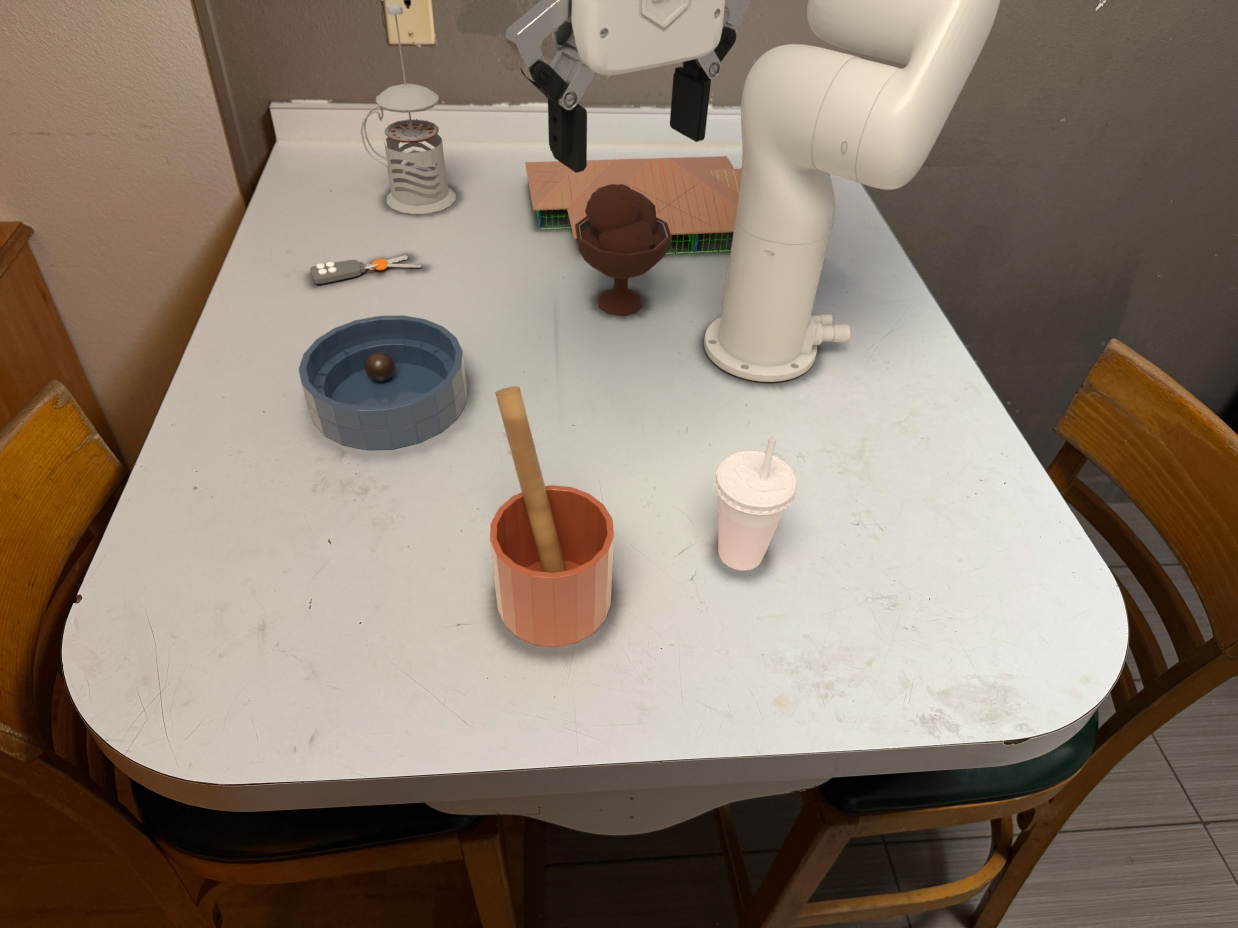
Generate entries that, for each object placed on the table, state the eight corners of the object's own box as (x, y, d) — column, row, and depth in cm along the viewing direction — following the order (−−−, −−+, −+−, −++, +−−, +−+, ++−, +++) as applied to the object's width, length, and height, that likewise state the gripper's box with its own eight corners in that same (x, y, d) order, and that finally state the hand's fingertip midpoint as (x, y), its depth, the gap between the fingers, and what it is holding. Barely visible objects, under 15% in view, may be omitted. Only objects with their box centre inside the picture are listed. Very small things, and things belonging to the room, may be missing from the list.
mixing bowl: (470, 356, 89) (466, 314, 86) (463, 452, 78) (457, 408, 74) (326, 359, 88) (315, 316, 84) (298, 457, 77) (283, 412, 73)
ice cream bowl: (658, 334, 94) (668, 212, 83) (564, 320, 95) (562, 199, 85) (672, 286, 101) (683, 169, 91) (585, 274, 103) (585, 157, 92)
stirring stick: (573, 600, 65) (518, 384, 60) (577, 609, 64) (520, 388, 58) (552, 606, 65) (494, 390, 60) (555, 616, 63) (495, 394, 58)
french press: (450, 215, 113) (427, 16, 95) (365, 212, 112) (327, 12, 95) (461, 184, 120) (441, -7, 102) (381, 181, 119) (348, -11, 102)
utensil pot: (605, 557, 69) (608, 482, 63) (614, 648, 63) (618, 575, 57) (499, 561, 69) (492, 486, 62) (496, 654, 62) (488, 581, 56)
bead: (378, 387, 83) (372, 387, 85) (403, 371, 84) (397, 372, 86) (361, 361, 82) (356, 362, 84) (387, 346, 83) (381, 347, 85)
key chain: (315, 288, 98) (312, 278, 97) (310, 273, 100) (307, 263, 99) (422, 269, 102) (420, 258, 101) (414, 255, 105) (413, 244, 104)
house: (786, 251, 109) (797, 193, 103) (539, 263, 104) (536, 203, 99) (741, 176, 125) (749, 123, 119) (526, 184, 120) (523, 128, 115)
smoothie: (757, 598, 67) (788, 477, 57) (689, 564, 69) (707, 443, 60) (788, 548, 71) (822, 427, 61) (723, 518, 73) (745, 397, 64)
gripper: (539, -155, 37) (548, 201, 49) (812, -168, 45) (763, 143, 56) (464, -176, 41) (489, 155, 53) (724, -185, 49) (695, 107, 61)
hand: (630, 149), depth 55 cm, fingers open, 9 cm apart
